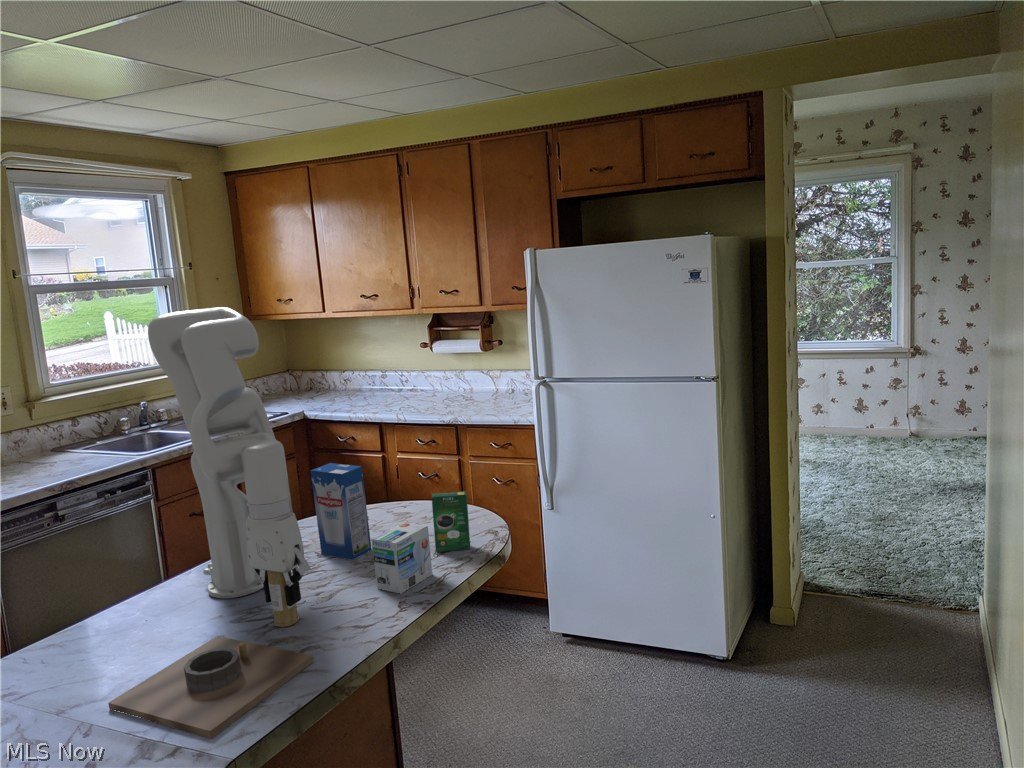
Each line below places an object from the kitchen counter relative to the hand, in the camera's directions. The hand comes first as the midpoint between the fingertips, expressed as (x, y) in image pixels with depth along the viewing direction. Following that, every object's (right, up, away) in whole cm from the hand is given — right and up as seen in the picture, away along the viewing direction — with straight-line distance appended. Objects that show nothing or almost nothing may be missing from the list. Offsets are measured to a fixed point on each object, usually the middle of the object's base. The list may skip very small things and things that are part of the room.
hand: (283, 600), depth 146 cm
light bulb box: (+21, 0, +15) cm, 25 cm away
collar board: (-5, -8, -19) cm, 22 cm away
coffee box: (+30, +3, +30) cm, 42 cm away
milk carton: (+5, +2, +34) cm, 34 cm away
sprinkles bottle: (0, -4, +1) cm, 5 cm away
